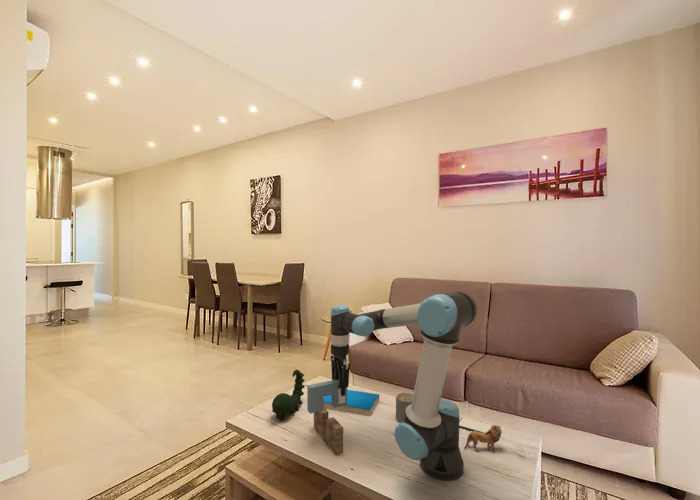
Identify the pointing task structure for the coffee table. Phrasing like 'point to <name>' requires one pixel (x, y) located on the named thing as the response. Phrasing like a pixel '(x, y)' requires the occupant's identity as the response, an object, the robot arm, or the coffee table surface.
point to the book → (356, 403)
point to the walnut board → (329, 431)
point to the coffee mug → (402, 404)
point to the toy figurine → (289, 399)
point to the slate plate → (323, 395)
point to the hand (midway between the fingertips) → (339, 400)
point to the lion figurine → (485, 437)
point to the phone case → (474, 425)
